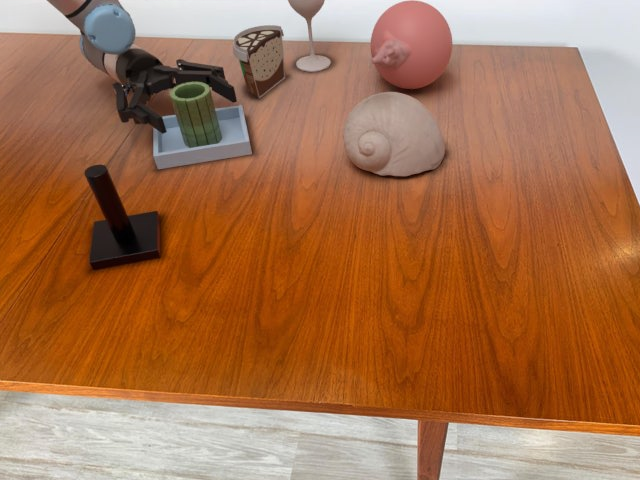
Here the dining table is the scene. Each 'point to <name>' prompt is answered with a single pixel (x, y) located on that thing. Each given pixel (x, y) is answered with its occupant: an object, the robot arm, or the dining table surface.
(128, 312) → the dining table surface
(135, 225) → the post
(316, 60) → the wineglass
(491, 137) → the dining table surface
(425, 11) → the balloon
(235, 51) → the food container
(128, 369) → the dining table surface
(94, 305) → the dining table surface
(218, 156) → the tray
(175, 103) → the ring sleeve
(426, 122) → the seashell
